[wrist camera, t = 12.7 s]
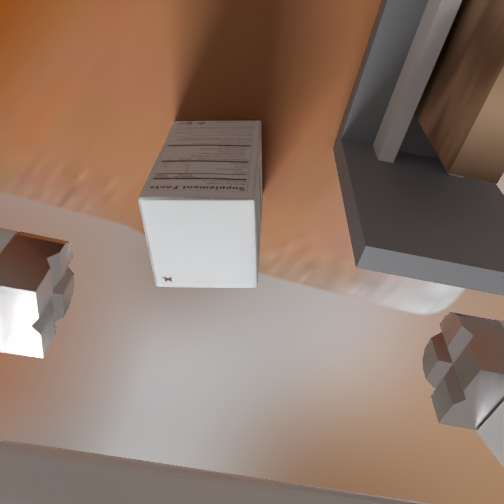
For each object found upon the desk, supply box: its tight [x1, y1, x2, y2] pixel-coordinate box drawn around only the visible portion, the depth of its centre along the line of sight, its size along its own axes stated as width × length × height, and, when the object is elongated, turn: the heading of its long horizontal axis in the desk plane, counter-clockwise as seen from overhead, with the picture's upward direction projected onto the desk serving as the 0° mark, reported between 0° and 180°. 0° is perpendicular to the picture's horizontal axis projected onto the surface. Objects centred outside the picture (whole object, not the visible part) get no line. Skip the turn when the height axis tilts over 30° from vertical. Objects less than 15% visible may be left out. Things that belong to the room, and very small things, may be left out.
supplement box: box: [139, 121, 263, 288], centre depth 35 cm, size 7×7×13 cm
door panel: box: [414, 0, 504, 184], centre depth 28 cm, size 12×3×10 cm, turn 169°
